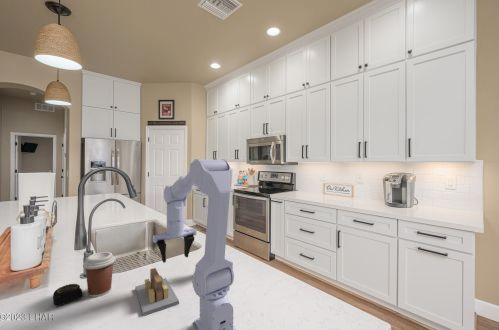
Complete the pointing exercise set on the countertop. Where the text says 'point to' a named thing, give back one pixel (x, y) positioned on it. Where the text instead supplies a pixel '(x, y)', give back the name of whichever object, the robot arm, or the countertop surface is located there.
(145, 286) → the hinge board
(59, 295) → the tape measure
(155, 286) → the door panel
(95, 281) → the coffee cup
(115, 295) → the countertop surface
